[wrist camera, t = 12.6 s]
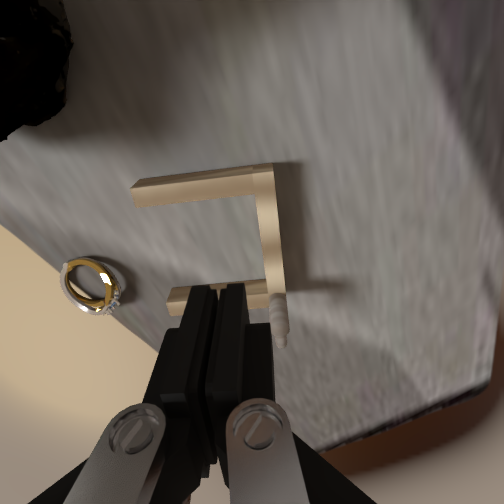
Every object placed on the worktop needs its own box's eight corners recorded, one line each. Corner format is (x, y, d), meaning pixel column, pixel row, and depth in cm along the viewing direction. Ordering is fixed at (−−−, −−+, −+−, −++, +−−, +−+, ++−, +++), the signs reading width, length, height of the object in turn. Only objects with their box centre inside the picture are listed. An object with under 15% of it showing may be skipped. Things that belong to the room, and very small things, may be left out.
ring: (57, 272, 43) (103, 317, 45) (40, 284, 40) (90, 331, 42) (91, 241, 41) (138, 289, 42) (76, 250, 38) (127, 301, 39)
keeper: (139, 179, 35) (109, 208, 28) (272, 162, 34) (275, 188, 27) (179, 312, 44) (164, 359, 37) (286, 303, 43) (291, 349, 36)
